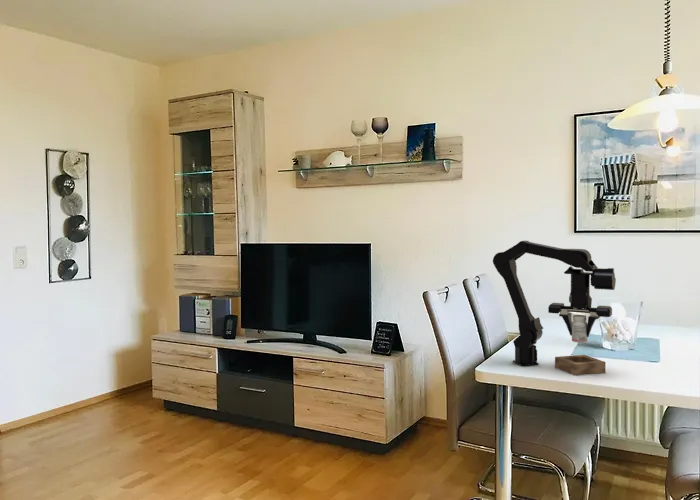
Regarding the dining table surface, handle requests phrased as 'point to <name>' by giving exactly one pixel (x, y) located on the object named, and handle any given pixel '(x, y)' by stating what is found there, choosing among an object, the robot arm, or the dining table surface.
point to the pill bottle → (579, 329)
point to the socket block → (580, 364)
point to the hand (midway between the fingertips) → (579, 336)
